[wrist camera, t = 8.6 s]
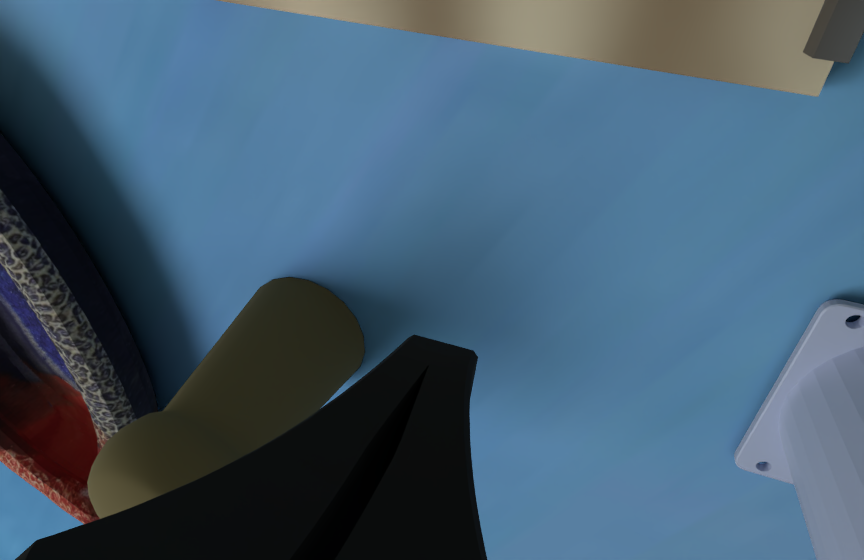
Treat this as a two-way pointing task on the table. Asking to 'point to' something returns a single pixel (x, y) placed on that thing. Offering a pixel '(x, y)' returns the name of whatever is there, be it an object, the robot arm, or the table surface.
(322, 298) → the cork
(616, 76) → the table surface
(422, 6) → the rail board
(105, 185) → the table surface
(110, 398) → the dish
